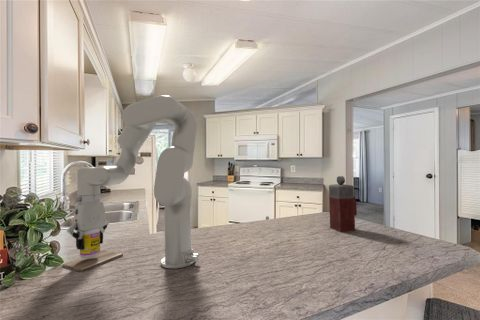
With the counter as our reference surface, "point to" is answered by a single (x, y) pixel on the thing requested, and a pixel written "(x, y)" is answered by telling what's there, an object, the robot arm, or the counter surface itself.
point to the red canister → (342, 206)
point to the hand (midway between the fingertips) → (90, 245)
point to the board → (92, 261)
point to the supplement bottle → (91, 243)
